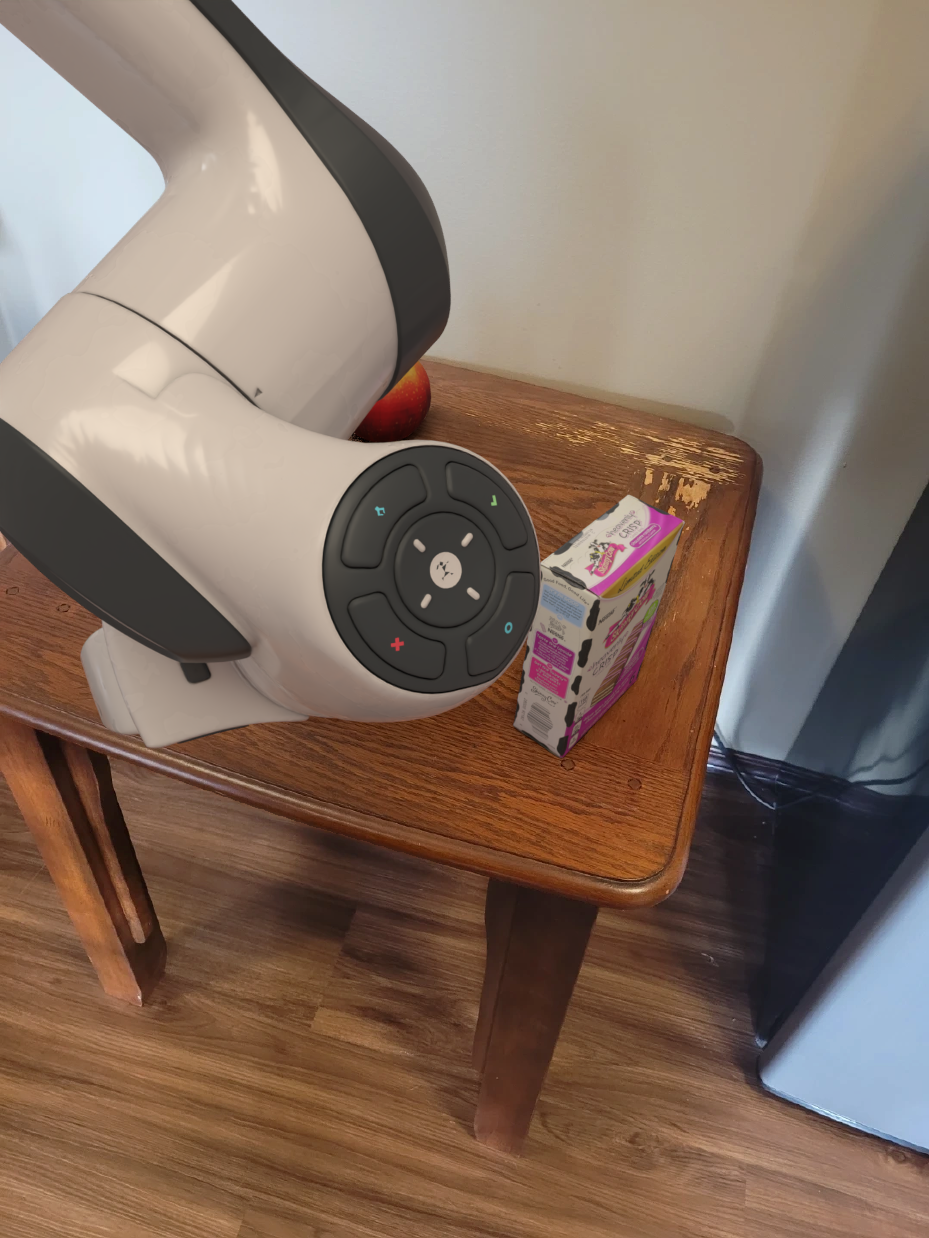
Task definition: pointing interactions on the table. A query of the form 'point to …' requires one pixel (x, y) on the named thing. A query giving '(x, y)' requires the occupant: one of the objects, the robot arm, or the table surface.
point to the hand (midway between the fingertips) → (269, 635)
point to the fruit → (399, 409)
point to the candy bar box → (594, 621)
